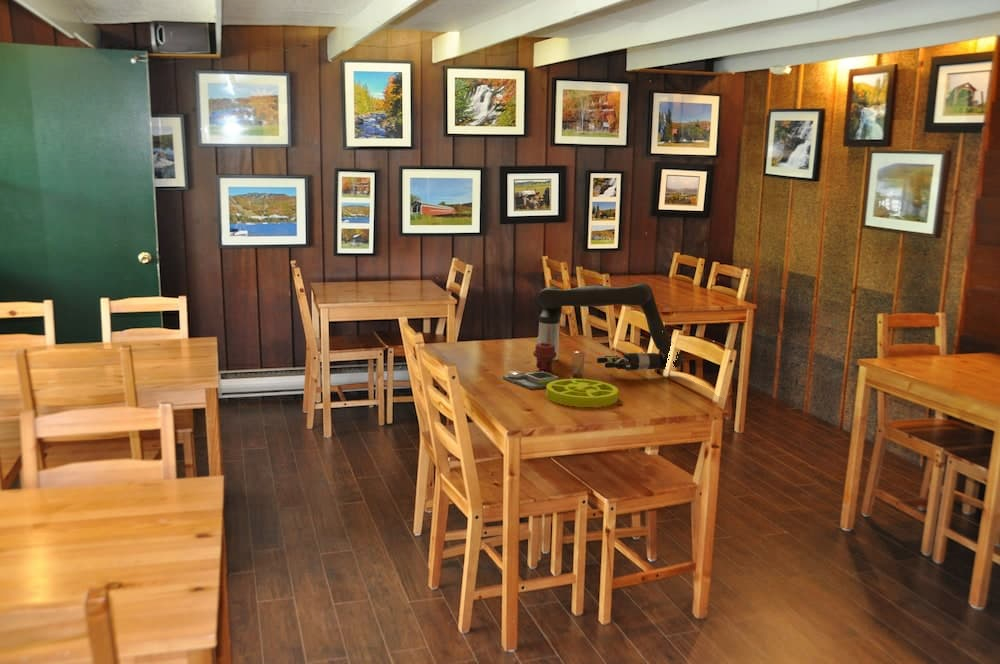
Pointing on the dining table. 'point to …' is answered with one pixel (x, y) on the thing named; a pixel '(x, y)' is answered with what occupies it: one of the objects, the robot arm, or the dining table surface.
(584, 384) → the pulley
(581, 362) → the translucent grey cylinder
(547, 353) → the mechanical component
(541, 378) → the carrier plate
